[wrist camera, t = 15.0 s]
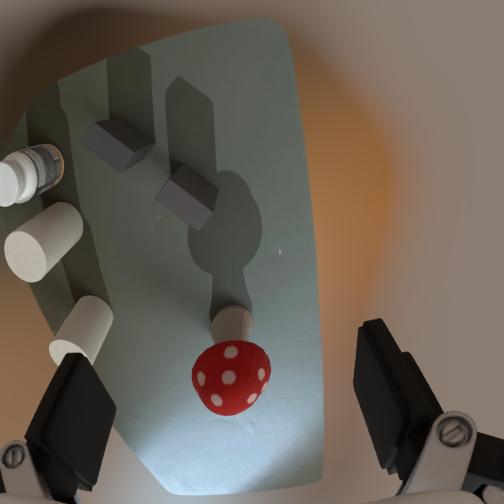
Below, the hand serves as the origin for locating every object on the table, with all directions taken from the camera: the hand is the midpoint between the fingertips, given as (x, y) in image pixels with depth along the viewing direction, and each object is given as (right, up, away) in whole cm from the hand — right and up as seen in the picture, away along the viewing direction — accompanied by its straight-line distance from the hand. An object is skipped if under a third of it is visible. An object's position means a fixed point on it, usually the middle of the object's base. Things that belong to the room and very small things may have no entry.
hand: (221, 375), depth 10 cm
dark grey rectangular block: (-5, +12, +26) cm, 29 cm away
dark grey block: (-12, +17, +23) cm, 31 cm away
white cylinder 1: (-23, +8, +27) cm, 36 cm away
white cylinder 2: (-22, -5, +32) cm, 39 cm away
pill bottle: (-24, +15, +23) cm, 37 cm away
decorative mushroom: (-2, -5, +34) cm, 34 cm away
